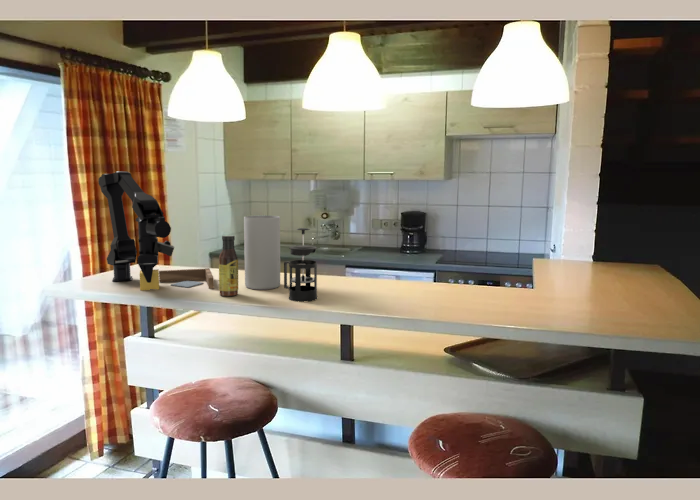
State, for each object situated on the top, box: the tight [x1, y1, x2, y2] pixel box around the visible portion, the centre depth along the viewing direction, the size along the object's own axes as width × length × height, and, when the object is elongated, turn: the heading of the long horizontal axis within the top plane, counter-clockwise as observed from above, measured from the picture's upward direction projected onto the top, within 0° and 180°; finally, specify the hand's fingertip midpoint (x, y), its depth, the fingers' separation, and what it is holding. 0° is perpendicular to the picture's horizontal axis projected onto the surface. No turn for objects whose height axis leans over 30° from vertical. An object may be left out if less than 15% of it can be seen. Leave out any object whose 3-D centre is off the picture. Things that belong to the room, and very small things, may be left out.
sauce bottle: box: [218, 234, 239, 297], centre depth 170 cm, size 6×6×20 cm
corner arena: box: [159, 267, 215, 290], centre depth 185 cm, size 18×18×4 cm
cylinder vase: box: [243, 214, 281, 291], centre depth 183 cm, size 12×12×25 cm
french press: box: [283, 227, 318, 303], centre depth 166 cm, size 12×9×23 cm
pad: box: [170, 280, 204, 289], centre depth 185 cm, size 8×8×1 cm
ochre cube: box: [139, 268, 160, 291], centre depth 179 cm, size 6×6×6 cm
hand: (149, 279), depth 179 cm, fingers open, 9 cm apart
